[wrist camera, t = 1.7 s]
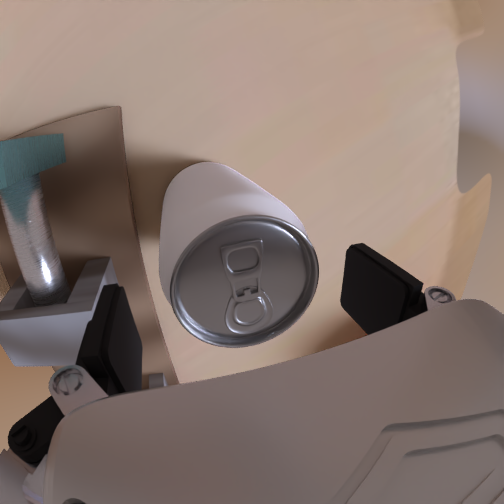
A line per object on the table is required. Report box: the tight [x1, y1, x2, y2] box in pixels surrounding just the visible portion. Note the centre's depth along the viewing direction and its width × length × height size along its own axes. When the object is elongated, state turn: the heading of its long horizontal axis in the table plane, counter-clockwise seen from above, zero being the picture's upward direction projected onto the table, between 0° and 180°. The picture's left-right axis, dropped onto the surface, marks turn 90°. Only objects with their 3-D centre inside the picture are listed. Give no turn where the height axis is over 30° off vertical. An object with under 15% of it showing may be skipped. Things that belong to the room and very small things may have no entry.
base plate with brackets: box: [0, 106, 179, 390], centre depth 18 cm, size 35×13×8 cm, turn 2°
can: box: [159, 162, 319, 348], centre depth 15 cm, size 6×6×12 cm
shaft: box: [0, 133, 72, 366], centre depth 13 cm, size 17×5×8 cm, turn 2°
